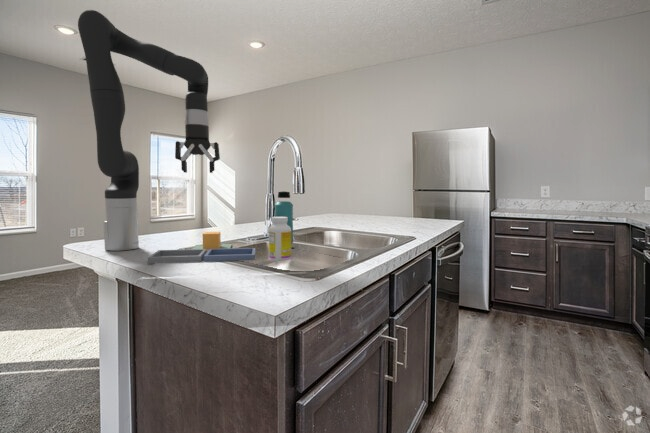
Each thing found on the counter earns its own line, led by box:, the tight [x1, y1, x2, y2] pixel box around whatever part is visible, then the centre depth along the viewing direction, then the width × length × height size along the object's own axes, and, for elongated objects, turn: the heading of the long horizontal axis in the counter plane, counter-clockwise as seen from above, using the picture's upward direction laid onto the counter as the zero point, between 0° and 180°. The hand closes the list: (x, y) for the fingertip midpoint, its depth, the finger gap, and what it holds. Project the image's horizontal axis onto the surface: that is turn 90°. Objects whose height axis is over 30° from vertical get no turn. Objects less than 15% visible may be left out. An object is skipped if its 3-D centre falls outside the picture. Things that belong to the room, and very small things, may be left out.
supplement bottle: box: [268, 216, 292, 262], centre depth 103 cm, size 7×7×13 cm
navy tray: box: [203, 247, 256, 262], centre depth 105 cm, size 14×11×2 cm
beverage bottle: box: [273, 191, 294, 247], centre depth 119 cm, size 6×7×20 cm
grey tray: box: [146, 248, 207, 266], centre depth 103 cm, size 14×11×2 cm
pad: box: [192, 243, 233, 252], centre depth 117 cm, size 12×12×1 cm
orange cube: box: [202, 231, 221, 249], centre depth 116 cm, size 5×5×5 cm
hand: (198, 172), depth 120 cm, fingers open, 8 cm apart
